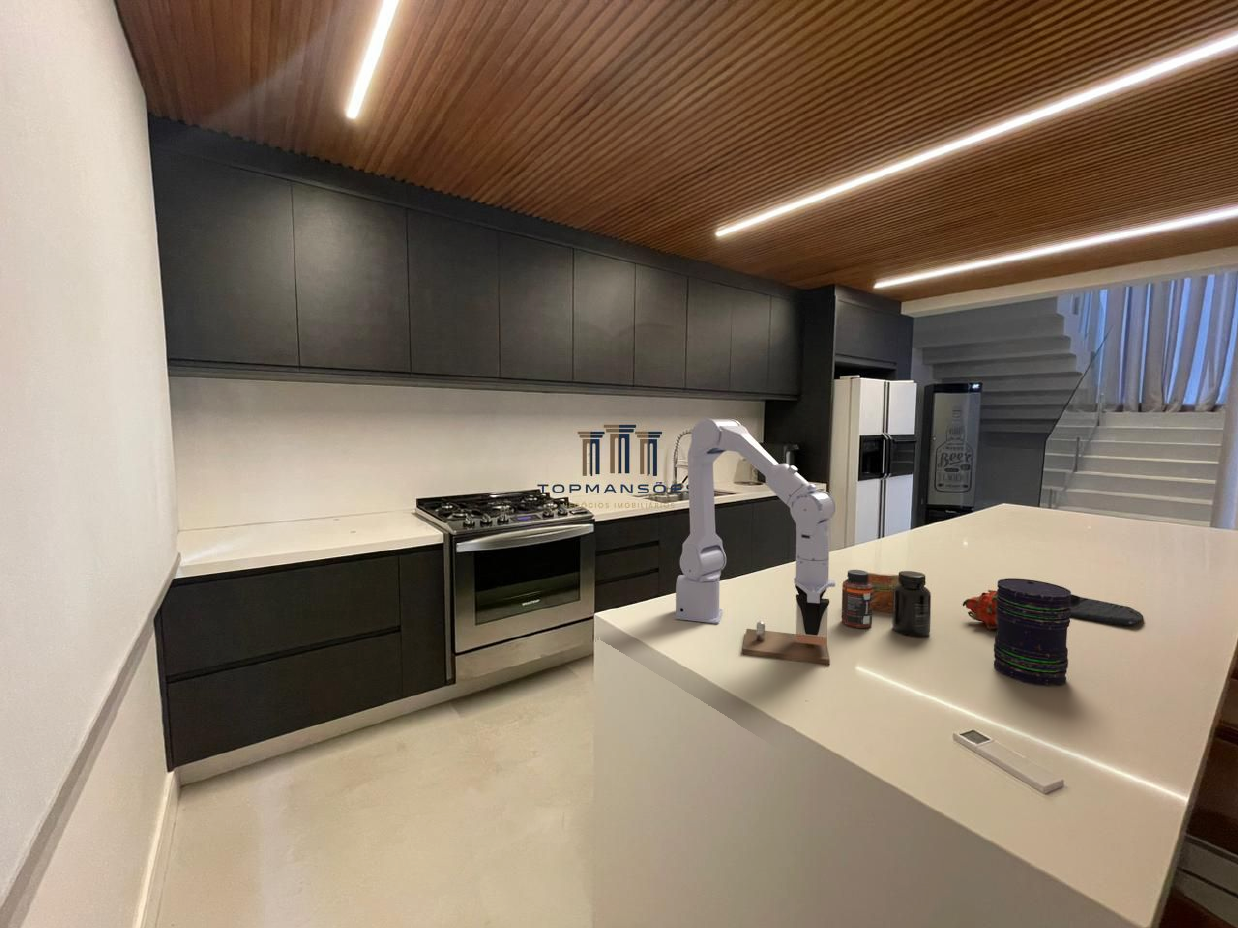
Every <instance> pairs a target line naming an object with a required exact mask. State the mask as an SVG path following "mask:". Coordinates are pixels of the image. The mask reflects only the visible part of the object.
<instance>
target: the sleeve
mask: <svg viewBox="0 0 1238 928" xmlns="http://www.w3.org/2000/svg"><path fill="white" fill-rule="evenodd" d="M822 598H823V599H825V598H824V597H822ZM795 601H796V600H795ZM795 604H796V605H795V606H796V607H795V608H796V609H795V634H796V642H800V643H809V644H817V645H826V646H827V647H828V607H827V608H826V610H825V612H824V614H823V617H822V620H821V625H820V629H819V633H818V635H817V636H816V635H807V634H805V630H804V625H803V618H802V613H801V610H800V607H799V605H798V603H797V601H796V602H795Z"/></svg>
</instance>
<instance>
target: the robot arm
mask: <svg viewBox="0 0 1238 928" xmlns="http://www.w3.org/2000/svg"><path fill="white" fill-rule="evenodd" d="M690 434H691V435H690V437H691V443H690V445H689V448H688V451H687V479H688V481H687V482H688V485H687V486H688V504H689V508H688V509H689V510H688V512H689V532H690V533H689V535H688V537H687V538H686V539H685V540H684V541H683V543H682V551H681V555H680V556H679V567H680V570H681V572H682V575H681V574H680V575H678V576H677V579H676V585H675V588H676V589H675V617H674V618H675V620H683V621H691V622H699V623H700V622H702V623H709V624H719V623H720V621H721V618H722V615H723V612H724V609H722V608H720V576H721V575H722V571H723V570H724V568H725V567H726V564H727V556H726V553H725V550H724V547H723V540H722V538H721V537H720V536H719V535H717V533H716V520H715V519H716V515H715V514H716V513H715V487H714V486H715V482H714V466H713V465H714V462H715V461H716V460H717V459H718V458H719V457H720V456H722V454H723V453H726V452H727V451H730V452H736V453H738V454H739V455H740V456H741V457H743V458H744V459H745V460H746V461H747V462H748V463H750V464H751V465H752V466H753V467H754V468H755V469H757V470H758V471H759V472H760V473H761V474H762V475H764V476H765V484H766V485H765V486H767V488H769V489H770V490H771V491H772V492H773V493H774V494H775V495H776V496H777V497H778V498H779V499H780V500H781V501H782V502H783V503H784V504H785V505H786V506H788V507H789V510H790V512H789V513H790V515H791V517H792V519H793V521H794V522H795V531H796V532H795V533H796V534H795V535H796V536H795V537H796V538H795V539H796V541H795V547H796V548H795V576H794V578H793V580H794V582H793V583H794V588H795V589H796V591H797V594H795V601H797V603H798V605H799V607H800V610H801V613H802V618H803V625H804V630H805V634H807V635H816V636H817V635H818V633H819V629H820V625H821V620H822V617H823V614H824V612H825V610H826V608H828V606H829V605H830V599H829V598H824V595H825V593H827V590H828V588H834V587H836V582H835V580H831V579H829V568H830V567H829V565H830V564H829V561H830V559H829V558H830V557H829V555H830V519H831V518H832V517H833V516H834V514H835V513H836V512H835V511H836V503H835V501H834V499H833V498H832V496H831V495H830V494H829V492H827V491H825V490H822V489H821V490H819V489H818V490H817V486H816V485H815V484H813V483H809V482H808V481H807V480H806V479H805V478H804V477H803V476H802V475H800V473H798V470H799V468H797V467H796V466H795V465H789V464H788V463H778V462H777V461H776V460H775V459H774V458H773V457H772V456H771V455H770V454H769V453H768V452H767V450H765V449H764V448H763V447H762V445H761V444H759V442H758V441H757V440H756V439H754V437H753V436H752V435H751V434H750V432H749V431H748V429H747V428H746V427H745V426H743V425H741V423H740V422H739V421H737V420H736V419H733V418H726V419H720V418H719V419H715V418H714V419H712V418H703V419H700V420H699V421H698V422H697V423H696V424H694V426H693V428H692V429H690ZM823 598H824V599H823Z"/></svg>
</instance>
